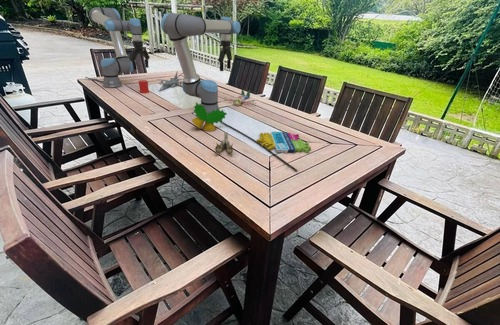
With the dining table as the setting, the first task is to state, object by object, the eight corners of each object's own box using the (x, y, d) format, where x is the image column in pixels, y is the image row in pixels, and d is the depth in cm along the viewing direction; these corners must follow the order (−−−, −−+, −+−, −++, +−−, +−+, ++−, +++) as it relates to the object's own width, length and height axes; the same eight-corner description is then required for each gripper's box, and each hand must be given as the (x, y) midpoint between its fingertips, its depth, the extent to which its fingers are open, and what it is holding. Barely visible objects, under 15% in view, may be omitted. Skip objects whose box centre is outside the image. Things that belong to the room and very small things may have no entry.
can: (140, 90, 230) (139, 79, 225) (149, 91, 232) (147, 80, 227) (139, 93, 224) (137, 81, 219) (148, 93, 226) (147, 82, 221)
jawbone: (234, 135, 144) (233, 125, 135) (233, 160, 138) (232, 151, 129) (217, 135, 144) (216, 125, 135) (216, 160, 138) (214, 150, 129)
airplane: (151, 82, 259) (149, 71, 254) (182, 80, 273) (181, 70, 267) (158, 92, 231) (157, 81, 226) (193, 90, 244) (192, 79, 239)
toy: (261, 91, 228) (254, 99, 202) (261, 99, 231) (253, 108, 205) (231, 87, 233) (220, 95, 207) (230, 95, 236) (219, 104, 210)
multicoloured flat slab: (313, 150, 142) (258, 149, 139) (312, 153, 143) (258, 152, 140) (301, 132, 164) (254, 130, 161) (301, 134, 165) (254, 133, 162)
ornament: (218, 133, 171) (224, 110, 169) (221, 134, 163) (227, 111, 161) (186, 125, 162) (192, 101, 160) (189, 126, 155) (195, 101, 153)
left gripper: (129, 42, 196) (133, 71, 207) (152, 40, 217) (155, 67, 227) (121, 41, 199) (126, 70, 209) (145, 39, 219) (148, 66, 230)
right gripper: (227, 39, 208) (227, 67, 219) (213, 40, 187) (213, 71, 198) (236, 40, 206) (235, 68, 217) (223, 41, 185) (222, 72, 196)
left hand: (141, 68), depth 218 cm, fingers open, 13 cm apart
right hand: (225, 69), depth 207 cm, fingers open, 13 cm apart
